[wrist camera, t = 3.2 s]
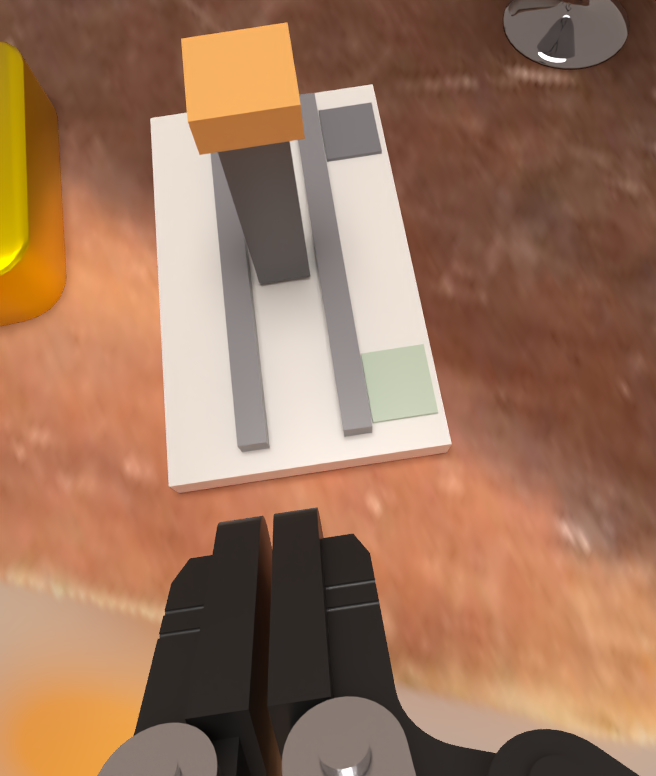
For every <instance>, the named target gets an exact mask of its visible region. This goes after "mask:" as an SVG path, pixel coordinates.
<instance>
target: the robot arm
mask: <svg viewBox="0 0 656 776" xmlns="http://www.w3.org/2000/svg"><path fill="white" fill-rule="evenodd" d="M159 634H160V639H158V640H157V644H156V648H155V652H154V656H153V660H152V665H151V669H150V673H149V677H148V681H147V685H146V689H145V693H144V697H143V701H142V705H141V710H140V713H139V718H138V722H137V726H136V729H135V733H134V736H133V737H132V738H130V739H129V740H127V741H126V742H125V743H124V744H122V745H121V746H120V747H119V748H118V749H117V750H116V751H115V752H114V753H113V754H112V755H111V756H110V758H109V759H108V760H107V762H106V763H105V764H104V766H103V767H102V769H101V771H100V772H99V774H98V776H639V775H637V774H636V773H635V772H633V771H632V770H630V769H629V768H627V767H626V766H624V765H623V764H621V763H620V762H619V761H617V760H616V759H614V758H613V757H611V756H610V755H609V754H607V753H605V752H604V751H603V750H601V749H600V748H598V747H597V746H595V745H594V744H592V743H590V742H589V741H587V740H585V739H583V738H581V737H578V736H576V735H574V734H571V733H567V732H563V731H559V730H551V729H538V730H532V731H527V732H524V733H522V734H519V735H517V736H515V737H513V738H512V739H510V740H509V741H507V742H506V743H505V744H504V745H503V746H502V747H501V748H500V750H499V751H498V752H497V753H491V752H486V751H481V750H475V749H469V748H464V747H459V746H455V745H451V744H447V743H444V742H442V741H440V740H437V739H435V738H433V737H431V736H430V735H428V734H427V733H425V732H424V731H422V730H421V729H420V728H419V727H417V726H416V725H415V724H414V723H413V722H412V721H411V719H410V718H409V717H408V716H407V715H406V713H405V711H404V710H403V709H402V706H401V705H400V702H399V700H398V697H397V693H396V690H395V684H394V679H393V674H392V668H391V663H390V658H389V652H388V647H387V642H386V636H385V631H384V626H383V620H382V615H381V610H380V605H379V599H378V594H377V588H376V584H375V578H374V572H373V567H372V562H371V556H370V553H369V552H368V550H367V549H366V548H365V547H364V546H363V545H362V543H361V542H360V541H359V540H358V539H357V538H356V536H355V535H354V534H348V535H341V536H335V537H328V538H323V533H322V527H321V521H320V516H319V511H318V508H311V509H304V510H297V511H291V512H284V513H278V514H274V521H273V551H272V546H271V542H270V537H269V533H268V528H267V524H266V521H265V518H264V517H263V516H259V517H252V518H246V519H239V520H232V521H226V522H220V523H219V524H218V526H217V532H216V537H215V543H214V549H213V555H210V556H203V557H197V558H190V559H189V560H188V562H187V563H186V564H185V566H184V567H183V568H182V570H181V571H180V573H179V574H178V575H177V577H176V578H175V579H174V581H173V582H172V583H171V587H170V591H169V595H168V600H167V604H166V608H165V616H163V620H162V624H161V628H160V632H159Z"/></svg>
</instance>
